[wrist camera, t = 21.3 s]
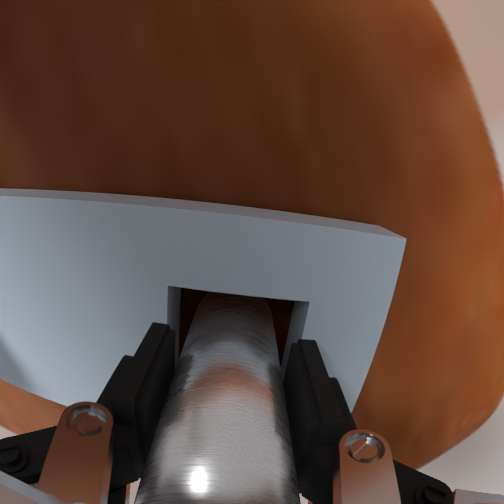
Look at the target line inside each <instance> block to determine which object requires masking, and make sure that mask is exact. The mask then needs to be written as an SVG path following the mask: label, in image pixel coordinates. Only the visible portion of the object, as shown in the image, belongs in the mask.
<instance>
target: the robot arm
mask: <svg viewBox="0 0 504 504" xmlns="http://www.w3.org/2000/svg"><path fill="white" fill-rule="evenodd" d="M174 373H175V330H174V329H170V325H169V324H162V323H156V322H153V323H152V324H151V326H150V328H149V329H148V331H147V333H146V335H145V336H144V338H143V340H142V342H141V344H140V345H139V347H138V349H137V351H136V352H135V354H134V356H129V355H124V356H123V357H122V359H121V360H120V362H119V364H118V366H117V367H116V369H115V371H114V372H113V374H112V376H111V377H110V379H109V381H108V383H107V384H106V386H105V388H104V389H103V391H102V393H101V395H100V396H99V398H98V400H97V402H96V403H95V402H88V401H83V402H77V403H74V404H72V405H70V406H68V407H67V408H66V409H65V410H64V411H63V413H62V415H61V417H60V420H59V422H58V425H57V426H54V427H50V428H46V429H42V430H38V431H34V432H30V433H25V434H21V435H17V436H12V437H7V438H4V439H1V440H0V504H129V496H130V483H132V482H135V481H137V480H138V479H139V478H141V477H142V474H143V471H144V467H145V464H146V461H147V457H148V454H149V451H150V448H151V444H152V441H153V438H154V435H155V431H156V428H157V425H158V422H159V419H160V416H161V412H162V409H163V406H164V403H165V400H166V397H167V394H168V391H169V388H170V385H171V382H172V379H173V376H174ZM283 388H284V395H285V401H286V408H287V414H288V421H289V428H290V435H291V441H292V448H293V455H294V462H295V469H296V476H297V483H298V490H299V493H302V496H303V497H305V498H306V499H308V500H309V501H308V504H504V496H503V495H499V494H489V493H481V492H473V491H466V490H459V489H456V490H455V491H454V492H452V491H451V489H450V488H449V487H448V486H447V485H446V484H445V483H443V482H441V481H440V480H437V479H435V478H433V477H430V476H428V475H426V474H423V473H421V472H419V471H416V470H414V469H412V468H410V467H408V466H405V465H403V464H401V463H399V462H397V461H395V460H393V459H392V454H391V450H390V447H389V444H388V442H387V441H386V440H385V439H384V438H383V437H382V436H381V435H379V434H378V433H376V432H373V431H370V430H365V429H357V428H356V425H355V423H354V420H353V418H352V415H351V412H350V410H349V407H348V405H347V402H346V399H345V397H344V394H343V392H342V389H341V387H340V384H339V382H338V380H337V378H335V377H329V375H328V372H327V370H326V367H325V364H324V361H323V359H322V356H321V353H320V351H319V348H318V345H317V343H316V341H315V340H308V339H298V341H297V343H292V344H291V348H290V352H289V357H288V361H287V366H286V370H285V375H284V379H283Z"/></svg>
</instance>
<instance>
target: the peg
mask: <svg viewBox="0 0 504 504" xmlns="http://www.w3.org/2000/svg"><path fill="white" fill-rule="evenodd" d="M134 504H300V497H299V490H298V483H297V476H296V469H295V462H294V455H293V448H292V441H291V435H290V428H289V421H288V414H287V408H286V401H285V395H284V388H283V382H282V375H281V369H280V362H279V356H278V349H277V343H276V336H275V330H274V324H273V317H272V312H271V309H270V307H269V305H268V303H267V302H266V301H265V299H264V298H263V297H256V296H247V295H238V294H229V293H221V292H212V291H210V292H209V293H208V294H206V295H205V296H204V297H203V298H202V299H201V301H200V302H199V304H198V306H197V309H196V312H195V314H194V317H193V320H192V323H191V326H190V329H189V332H188V334H187V337H186V340H185V343H184V346H183V349H182V352H181V355H180V358H179V361H178V364H177V367H176V370H175V373H174V376H173V379H172V382H171V385H170V388H169V391H168V394H167V397H166V400H165V403H164V406H163V409H162V412H161V416H160V419H159V422H158V425H157V428H156V431H155V435H154V438H153V441H152V444H151V448H150V451H149V454H148V457H147V461H146V464H145V467H144V471H143V474H142V477H141V481H140V485H139V488H138V491H137V495H136V498H135V502H134Z"/></svg>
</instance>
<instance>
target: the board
mask: <svg viewBox="0 0 504 504" xmlns="http://www.w3.org/2000/svg"><path fill="white" fill-rule="evenodd" d="M406 240H407V239H406V238H404V237H402V236H400V235H398V234H396V233H393V232H391V231H389V230H387V229H385V228H383V227H381V226H378V225H372V224H366V223H360V222H354V221H347V220H341V219H334V218H327V217H321V216H314V215H307V214H299V213H292V212H285V211H277V210H269V209H261V208H253V207H245V206H236V205H228V204H219V203H210V202H200V201H190V200H180V199H170V198H159V197H147V196H135V195H122V194H109V193H94V192H77V191H59V190H36V189H5V188H0V379H1V380H3V381H5V382H8V383H10V384H12V385H14V386H17V387H19V388H21V389H23V390H26V391H28V392H31V393H33V394H36V395H38V396H41V397H43V398H46V399H48V400H51V401H54V402H56V403H59V404H62V405H65V406H70V405H72V404H74V403H77V402H83V401H88V402H95V403H96V402H97V400H98V398H99V396H100V395H101V393H102V391H103V389H104V388H105V386H106V384H107V383H108V381H109V379H110V377H111V376H112V374H113V372H114V371H115V369H116V367H117V366H118V364H119V362H120V360H121V359H122V357H123V356H124V355H129V356H134V354H135V352H136V351H137V349H138V347H139V345H140V344H141V342H142V340H143V338H144V336H145V335H146V333H147V331H148V329H149V328H150V326H151V324H152V323H153V322H156V323H162V324H169V325H170V329H174V330H175V370H176V367H177V364H178V361H179V327H180V298H181V288H189V289H196V290H204V291H212V292H221V293H229V294H238V295H247V296H256V297H265V298H275V299H285V300H294V305H293V310H292V315H291V320H290V325H289V330H288V335H287V340H286V345H285V350H284V354H283V359H282V364H281V368H280V369H281V375H282V382H283V379H284V375H285V370H286V366H287V361H288V357H289V352H290V348H291V344H292V343H297V341H298V339H308V340H315V341H316V343H317V345H318V348H319V351H320V353H321V356H322V359H323V361H324V364H325V367H326V370H327V372H328V375H329V377H335V378H337V380H338V382H339V384H340V387H341V389H342V392H343V394H344V397H345V399H346V402H347V405H348V407H349V410H350V412H351V413H352V411H353V408H354V406H355V404H356V401H357V399H358V396H359V394H360V391H361V389H362V386H363V384H364V381H365V379H366V376H367V373H368V371H369V368H370V365H371V363H372V360H373V357H374V354H375V351H376V348H377V345H378V342H379V339H380V336H381V333H382V330H383V327H384V324H385V321H386V317H387V314H388V311H389V307H390V304H391V300H392V297H393V293H394V290H395V286H396V282H397V278H398V274H399V270H400V266H401V262H402V258H403V253H404V249H405V244H406Z"/></svg>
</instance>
